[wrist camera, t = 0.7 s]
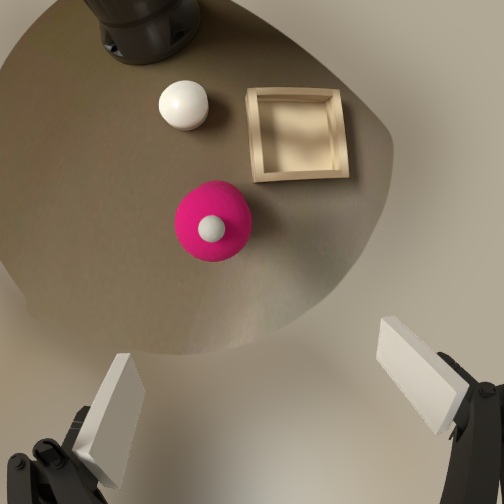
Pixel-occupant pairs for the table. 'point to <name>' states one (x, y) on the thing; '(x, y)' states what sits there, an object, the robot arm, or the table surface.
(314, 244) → the table surface
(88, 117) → the table surface
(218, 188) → the pepper mill
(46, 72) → the table surface
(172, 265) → the table surface
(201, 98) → the white egg-shaped pebble
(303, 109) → the tray
